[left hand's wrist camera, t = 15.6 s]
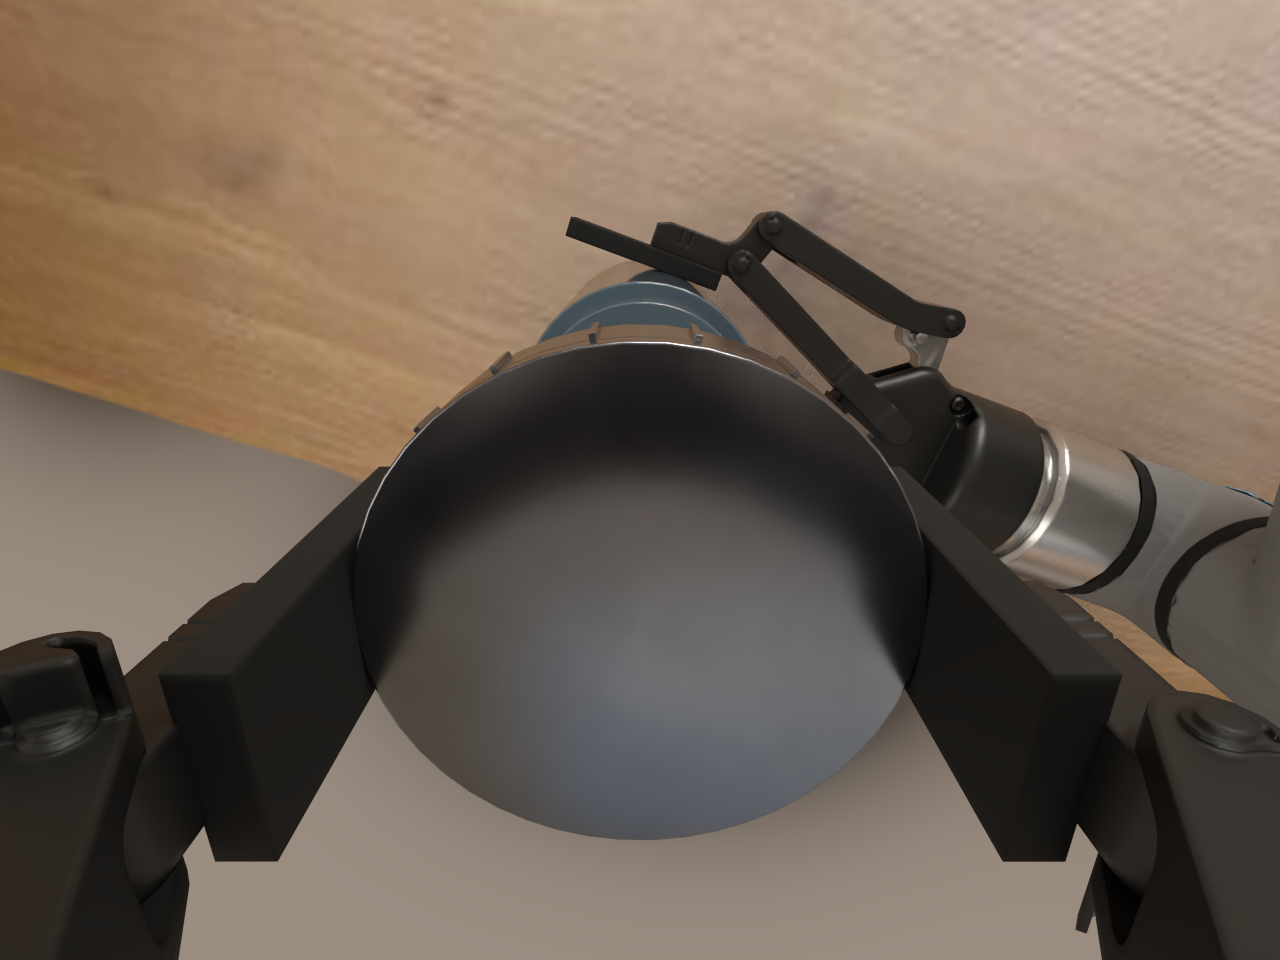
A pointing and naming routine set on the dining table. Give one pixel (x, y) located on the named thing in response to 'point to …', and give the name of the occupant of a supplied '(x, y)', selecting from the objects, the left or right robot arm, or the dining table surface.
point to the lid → (640, 584)
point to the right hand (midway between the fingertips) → (541, 329)
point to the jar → (641, 304)
